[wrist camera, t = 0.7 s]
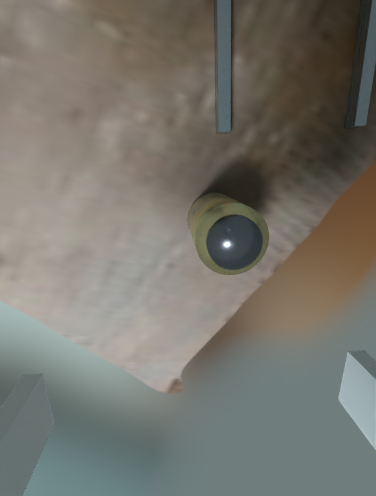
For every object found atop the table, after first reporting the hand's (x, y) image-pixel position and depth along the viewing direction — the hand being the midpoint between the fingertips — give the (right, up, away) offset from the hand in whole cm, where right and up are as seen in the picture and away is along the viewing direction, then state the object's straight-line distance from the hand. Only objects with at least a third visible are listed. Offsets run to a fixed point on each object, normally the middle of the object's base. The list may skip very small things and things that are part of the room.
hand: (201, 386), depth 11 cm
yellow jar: (+2, +9, +18) cm, 20 cm away
